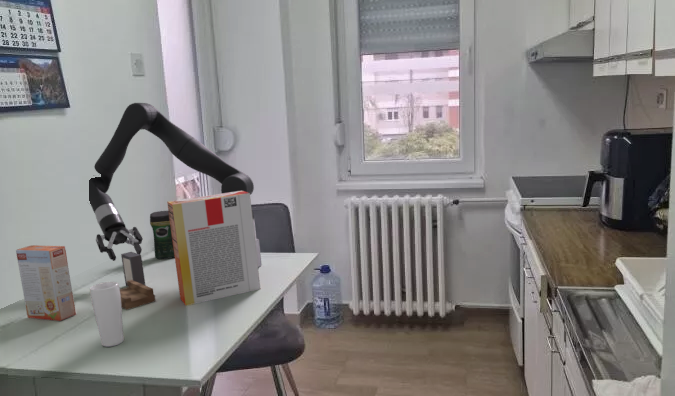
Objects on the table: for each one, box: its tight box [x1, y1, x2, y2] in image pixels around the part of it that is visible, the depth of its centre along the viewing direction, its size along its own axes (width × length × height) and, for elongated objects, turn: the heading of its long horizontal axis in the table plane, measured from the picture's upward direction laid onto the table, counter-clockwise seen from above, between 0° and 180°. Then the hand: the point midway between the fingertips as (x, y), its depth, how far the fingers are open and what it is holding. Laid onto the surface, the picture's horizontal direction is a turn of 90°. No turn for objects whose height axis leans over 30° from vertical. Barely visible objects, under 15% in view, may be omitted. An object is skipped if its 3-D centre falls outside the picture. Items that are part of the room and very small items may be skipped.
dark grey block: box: [120, 251, 147, 287], centre depth 193 cm, size 8×4×11 cm, turn 42°
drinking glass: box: [89, 281, 125, 348], centre depth 144 cm, size 7×7×15 cm
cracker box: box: [15, 244, 77, 322], centre depth 169 cm, size 14×6×21 cm, turn 65°
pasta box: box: [167, 191, 261, 306], centre depth 176 cm, size 23×8×30 cm, turn 116°
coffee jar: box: [149, 210, 175, 260], centre depth 230 cm, size 10×8×19 cm
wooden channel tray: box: [119, 280, 156, 311], centre depth 179 cm, size 16×9×4 cm, turn 42°
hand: (127, 256), depth 195 cm, fingers open, 8 cm apart
